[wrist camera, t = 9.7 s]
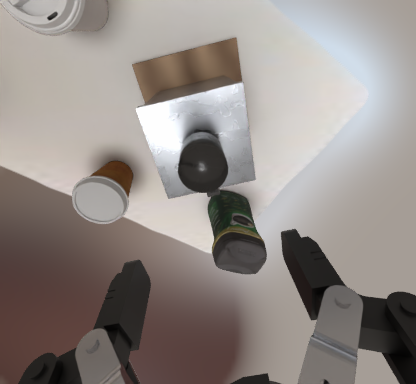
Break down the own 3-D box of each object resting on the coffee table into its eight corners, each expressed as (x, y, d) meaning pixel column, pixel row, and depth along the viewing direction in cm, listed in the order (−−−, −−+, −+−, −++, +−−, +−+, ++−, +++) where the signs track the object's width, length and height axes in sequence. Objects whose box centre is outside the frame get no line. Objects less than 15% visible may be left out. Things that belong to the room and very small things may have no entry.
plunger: (182, 150, 42) (174, 213, 25) (168, 103, 38) (147, 140, 21) (227, 140, 42) (250, 197, 24) (218, 91, 37) (238, 118, 20)
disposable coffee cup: (135, 151, 48) (118, 177, 37) (144, 191, 52) (132, 223, 42) (89, 155, 47) (59, 182, 37) (102, 194, 52) (80, 228, 42)
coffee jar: (203, 212, 56) (207, 273, 40) (215, 185, 53) (225, 241, 37) (239, 222, 58) (256, 284, 42) (252, 197, 55) (277, 254, 39)
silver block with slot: (180, 166, 49) (174, 215, 34) (157, 90, 41) (135, 108, 26) (237, 153, 48) (257, 197, 33) (224, 73, 40) (243, 82, 25)
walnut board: (170, 175, 51) (170, 177, 50) (133, 64, 40) (132, 64, 39) (250, 157, 49) (251, 159, 49) (235, 38, 38) (236, 37, 38)
